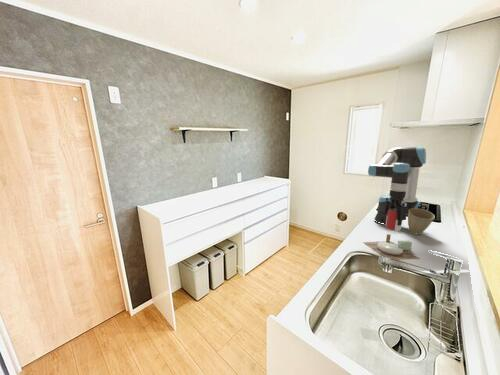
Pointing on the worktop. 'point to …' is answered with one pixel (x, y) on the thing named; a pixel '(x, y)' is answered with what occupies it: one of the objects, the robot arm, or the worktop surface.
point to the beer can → (391, 219)
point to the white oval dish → (394, 247)
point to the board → (395, 257)
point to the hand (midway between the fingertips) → (392, 227)
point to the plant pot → (419, 220)
